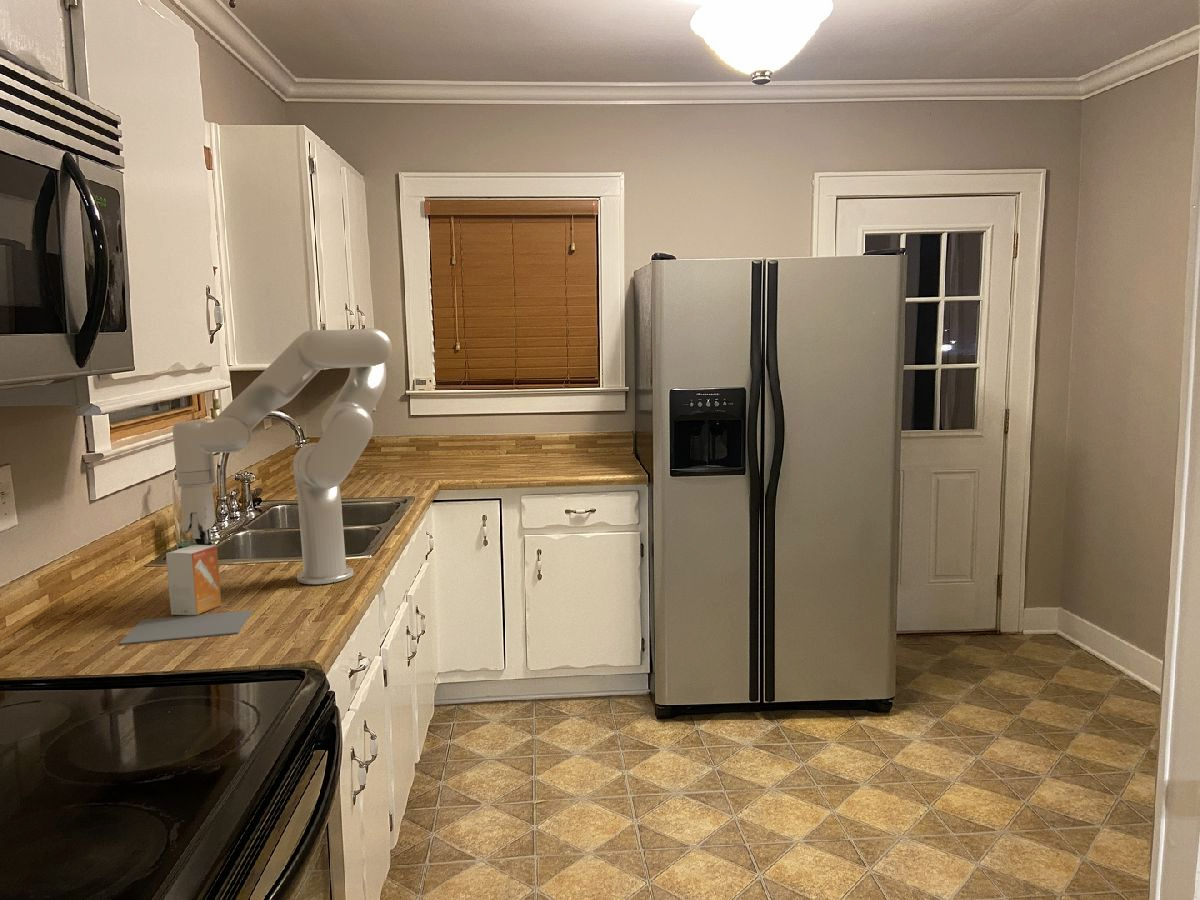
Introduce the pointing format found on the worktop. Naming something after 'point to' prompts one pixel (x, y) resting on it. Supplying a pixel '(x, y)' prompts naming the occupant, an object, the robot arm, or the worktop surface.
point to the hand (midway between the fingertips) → (204, 560)
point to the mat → (187, 627)
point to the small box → (193, 579)
